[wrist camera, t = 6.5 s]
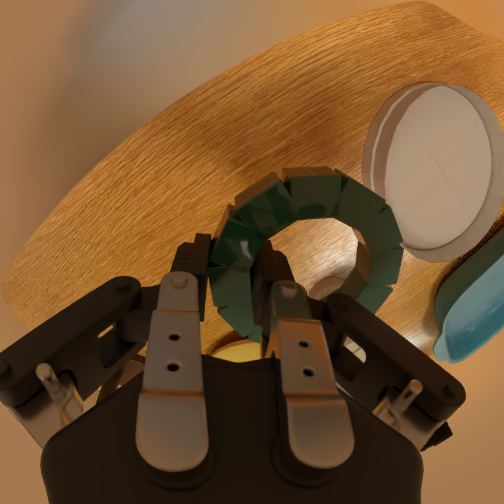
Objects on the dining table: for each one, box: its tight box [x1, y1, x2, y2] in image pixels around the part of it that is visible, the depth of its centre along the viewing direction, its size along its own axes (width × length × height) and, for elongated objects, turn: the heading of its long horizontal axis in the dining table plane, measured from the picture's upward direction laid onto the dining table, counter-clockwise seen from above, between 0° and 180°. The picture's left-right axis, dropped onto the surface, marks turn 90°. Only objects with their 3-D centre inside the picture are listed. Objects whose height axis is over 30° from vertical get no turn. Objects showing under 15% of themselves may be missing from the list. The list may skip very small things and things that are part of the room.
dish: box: [362, 83, 504, 263], centre depth 27 cm, size 22×22×5 cm
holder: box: [96, 338, 146, 404], centre depth 35 cm, size 9×9×13 cm
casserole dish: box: [433, 227, 504, 364], centre depth 35 cm, size 37×22×7 cm, turn 127°
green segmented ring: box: [208, 166, 404, 343], centre depth 13 cm, size 9×9×2 cm
